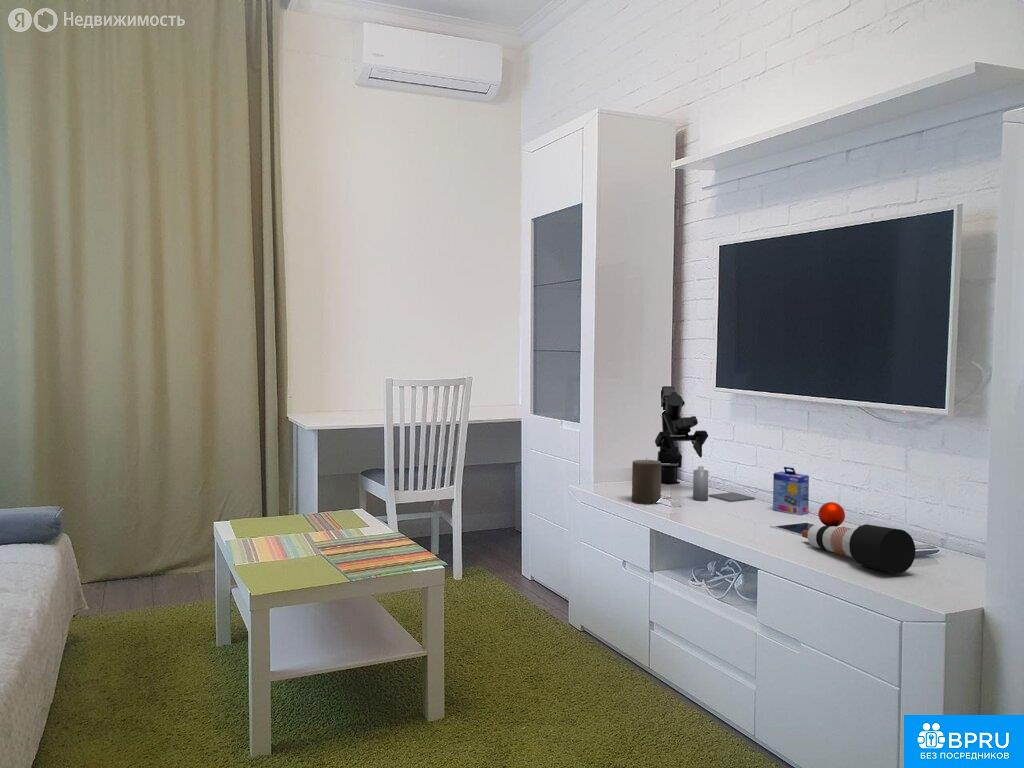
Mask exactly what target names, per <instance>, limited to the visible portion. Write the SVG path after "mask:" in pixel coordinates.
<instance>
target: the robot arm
mask: <svg viewBox="0 0 1024 768" xmlns="http://www.w3.org/2000/svg"><path fill="white" fill-rule="evenodd" d="M661 387H662V390H661V389H660V390H661V407H663V410H665V411H664V412H663V413H662V416H661V429H662V431H659V433H657V436H656V438H655V440H654V443H655V446H656V447H657V448H659V451H657V459H656V461H660V462H661V484H664V483H665V484H664V485H672V484H675V485H676V484H680V483H681V482H680V481H679V480H678V468H682V465H683V464H682V463H683V461H682V460H683V459H682V458H683V455H682V453H681V451H680V449H679V444H678V442H691V445H692V448H693V450H694V451H695V453H696V454H697V456H698V457H699V458H702V457H703V445H704V444H705V442H706V441H707V439H708V438H709V434H708V432H707V431H706V430H695V432H694V433H693V434H689V433H690V432H691V431H692V429H691V428H693V427H696V426H697V425H698V423H699V420H698V418H697V417H696V415H694V416H693V415H692V416H690V417H689V416H688V417H687V416H686V417H684V416H683V417H682V416H681V413H682V408H683V407H684V406H685V403H686V402H685V401H684V399H683V397H682V396H681V394H679V393H677V391H675V387H674V386H672V385H671V386H669V385H667V386H666V385H665V386H661Z"/></svg>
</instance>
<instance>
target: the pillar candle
mask: <svg viewBox="0 0 1024 768" xmlns="http://www.w3.org/2000/svg"><path fill="white" fill-rule="evenodd" d="M661 464H662V463H661V462H660V461H657V459H656V460H654V459H653V460H652V459H648V458H647V457H646V458H645V459H635V460H632V465H631V466H632V467H631V468H632V469H631V470H632V472H631V477H632V478H631V482H632V483H631V501H632V503H635V504H640V505H643V504H644V505H655V504H654V503H656V502H657V501H658V500H659V499H660V498H662V496H661V495H662V483H661Z"/></svg>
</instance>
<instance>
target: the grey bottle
mask: <svg viewBox="0 0 1024 768" xmlns="http://www.w3.org/2000/svg"><path fill="white" fill-rule="evenodd" d="M692 477H693V478H692V479H693V480H692V482H693V483H692V485H693V486H692V500H693V501H697V502H707V501H709V470H707V469H705V466H703V465H698V466H697V469H694V470H693V476H692Z"/></svg>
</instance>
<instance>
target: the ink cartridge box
mask: <svg viewBox="0 0 1024 768" xmlns="http://www.w3.org/2000/svg"><path fill="white" fill-rule="evenodd" d="M783 469H784V471H779V472H778V471H776V472H774V473H773V479H772V481H773V482H772V483H773V484H772V485H773V487H772V488H773V490H772V496H773V497H772V510H773V511H777V512H780V513H782V512H783V513H787V514H792V515H796V514H797V515H796V516H801V515H805V514H809V509H810V508H809V498H810V497H809V496H810V495H809V494H810V493H809V491H810V490H809V488H810V486H809V485H810V484H809V483H810V476H809V475H808V474H802V473H797V472H796V470H795V468H794V467H790V466H789V467H787V466H783Z"/></svg>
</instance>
